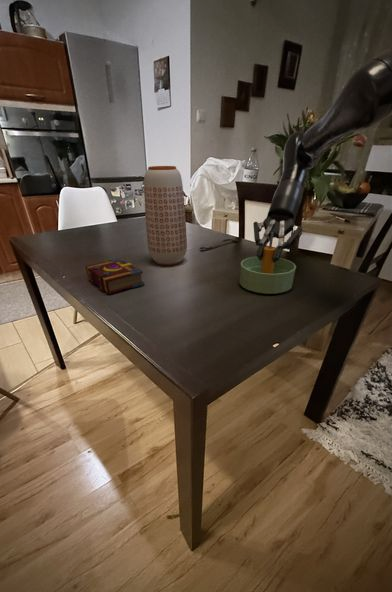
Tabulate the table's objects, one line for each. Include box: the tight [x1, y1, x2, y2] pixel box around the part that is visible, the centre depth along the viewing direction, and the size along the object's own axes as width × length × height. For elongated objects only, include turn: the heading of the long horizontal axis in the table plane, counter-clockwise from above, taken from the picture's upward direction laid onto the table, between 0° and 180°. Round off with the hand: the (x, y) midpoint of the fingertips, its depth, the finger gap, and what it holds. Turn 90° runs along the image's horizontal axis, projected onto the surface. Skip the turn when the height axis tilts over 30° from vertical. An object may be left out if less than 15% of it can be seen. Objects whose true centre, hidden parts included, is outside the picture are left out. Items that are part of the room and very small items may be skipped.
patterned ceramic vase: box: [143, 165, 188, 267], centre depth 91 cm, size 13×13×28 cm
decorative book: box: [85, 257, 145, 295], centre depth 83 cm, size 11×16×5 cm
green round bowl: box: [238, 255, 297, 295], centre depth 80 cm, size 15×15×6 cm
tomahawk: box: [199, 238, 239, 250], centre depth 115 cm, size 21×7×1 cm, turn 132°
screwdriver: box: [261, 232, 276, 274], centre depth 77 cm, size 3×3×11 cm
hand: (266, 259), depth 76 cm, fingers closed on screwdriver, 3 cm apart
